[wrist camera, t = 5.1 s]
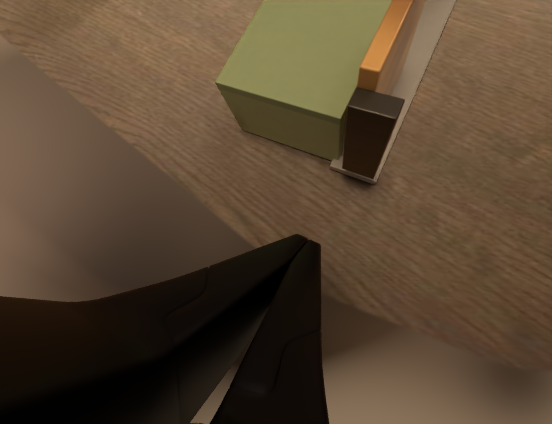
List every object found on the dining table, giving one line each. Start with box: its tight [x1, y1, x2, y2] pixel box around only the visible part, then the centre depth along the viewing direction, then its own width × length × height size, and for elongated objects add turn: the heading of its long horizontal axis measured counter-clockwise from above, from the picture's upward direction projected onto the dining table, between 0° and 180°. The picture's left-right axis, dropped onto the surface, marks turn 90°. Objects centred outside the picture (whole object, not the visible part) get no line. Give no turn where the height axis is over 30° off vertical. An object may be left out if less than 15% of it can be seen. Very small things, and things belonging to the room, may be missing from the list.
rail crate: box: [215, 0, 456, 185], centre depth 18 cm, size 18×11×5 cm, turn 153°
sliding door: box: [342, 0, 425, 179], centre depth 14 cm, size 9×2×8 cm, turn 153°
